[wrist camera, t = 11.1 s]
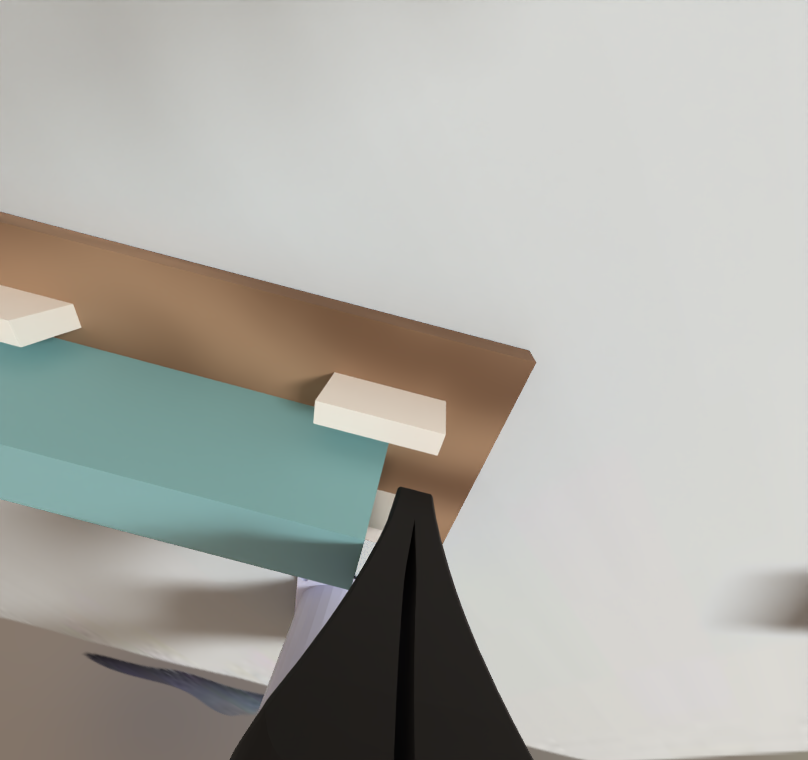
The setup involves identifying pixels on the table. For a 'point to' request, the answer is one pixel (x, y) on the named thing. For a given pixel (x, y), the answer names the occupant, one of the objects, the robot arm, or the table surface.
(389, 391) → the end caps
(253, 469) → the slat
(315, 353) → the walnut board
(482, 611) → the table surface
